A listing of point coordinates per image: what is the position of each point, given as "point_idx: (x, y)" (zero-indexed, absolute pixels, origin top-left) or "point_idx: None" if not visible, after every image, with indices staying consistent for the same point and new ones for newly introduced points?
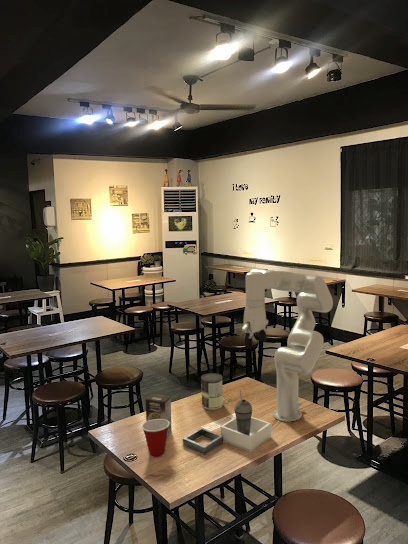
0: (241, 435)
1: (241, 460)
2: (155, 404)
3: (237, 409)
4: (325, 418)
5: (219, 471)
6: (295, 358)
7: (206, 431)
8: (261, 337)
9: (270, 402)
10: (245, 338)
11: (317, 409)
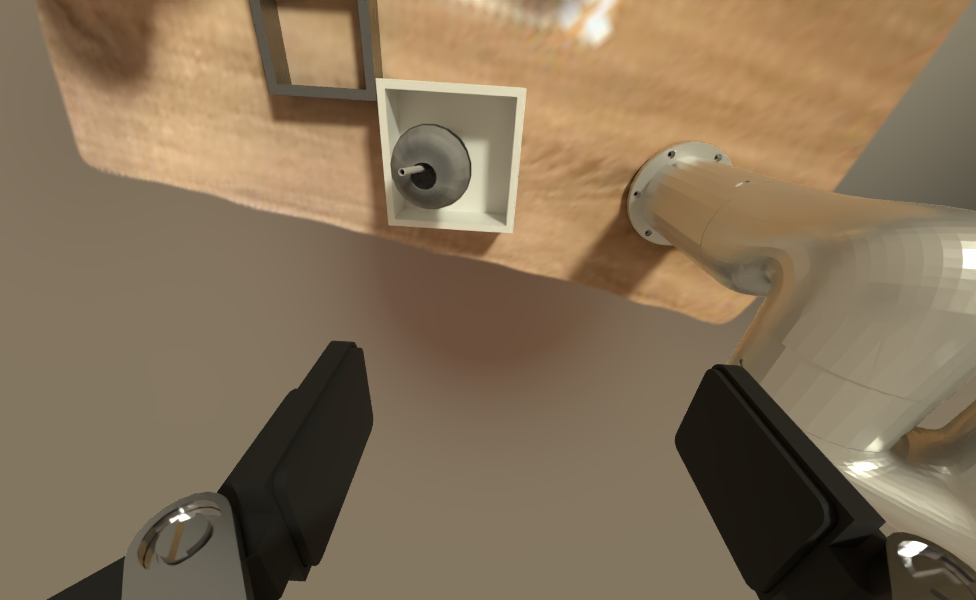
0: (386, 187)
1: (351, 211)
2: None
3: (390, 162)
4: (699, 298)
5: (267, 190)
6: (779, 405)
7: (358, 6)
8: (726, 461)
9: (786, 71)
10: (254, 467)
11: None
